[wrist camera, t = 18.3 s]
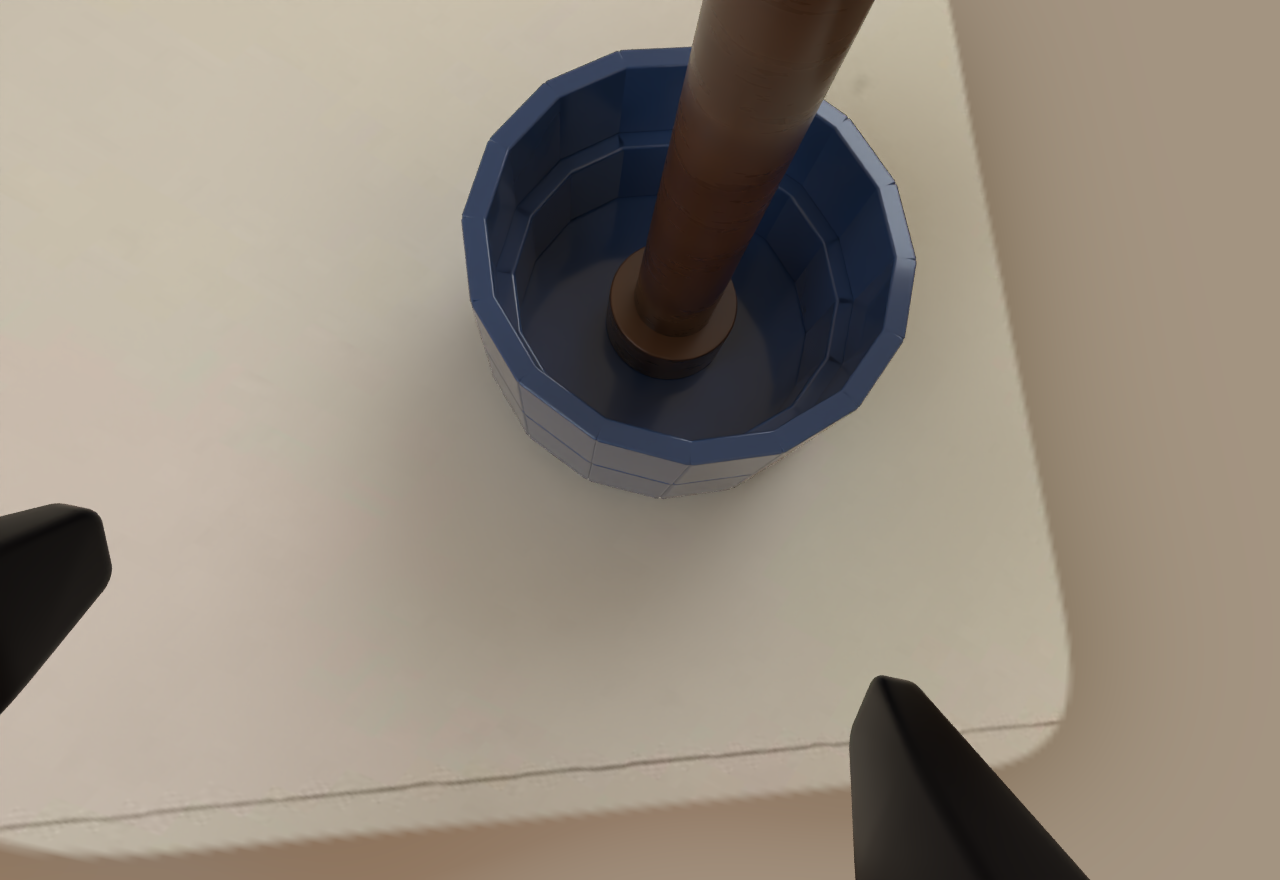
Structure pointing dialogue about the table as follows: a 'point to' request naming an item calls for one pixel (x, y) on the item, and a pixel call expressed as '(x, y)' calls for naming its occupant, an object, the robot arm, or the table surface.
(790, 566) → the table surface
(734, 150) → the muddler
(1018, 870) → the robot arm
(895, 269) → the bowl
